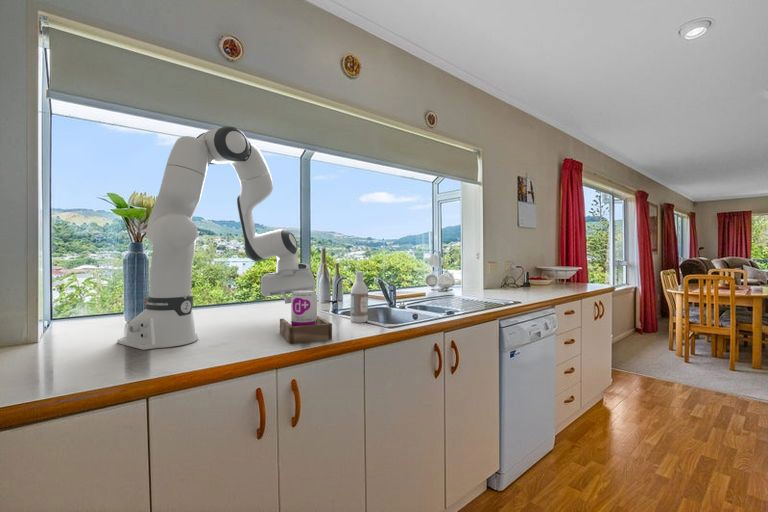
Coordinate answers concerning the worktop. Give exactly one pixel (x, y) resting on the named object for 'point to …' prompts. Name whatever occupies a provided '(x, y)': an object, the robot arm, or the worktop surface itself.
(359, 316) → the bath foam
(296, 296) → the supplement can
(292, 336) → the bay
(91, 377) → the worktop surface
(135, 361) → the worktop surface
